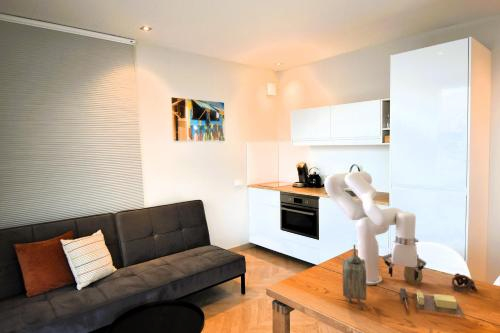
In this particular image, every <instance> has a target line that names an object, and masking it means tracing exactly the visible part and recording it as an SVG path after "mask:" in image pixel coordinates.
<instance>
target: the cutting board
mask: <svg viewBox="0 0 500 333" xmlns="http://www.w3.org/2000/svg"><path fill="white" fill-rule="evenodd" d="M411 294H412V296H413V300H414V303H415V306H416V309H417V311H425V312H431V313H432V312H433V313H441V314H447V315H453V316H462V317H465V314H464V313H463V310H462V309H461V307H460V305H459V303H457V309H451V308H444V307H437V306H436V304H435V302H434V295H429V294H423V296H424V305H422V304H419V303H418V300H417V293H413V292H412V293H411Z"/></svg>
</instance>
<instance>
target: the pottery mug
mask: <svg viewBox="0 0 500 333" xmlns="http://www.w3.org/2000/svg"><path fill="white" fill-rule="evenodd" d="M455 282H456V283H455ZM451 289H452V290H454V291H456V292H461V293H463V292H467V291H470V292H473V290H472V289H474V290H475V291H478V289H477V287H476V284H475V281H474V280H473V279H471V277H469V276H468V275H465V274H460V273H458V272H457V273H455V274H454V276H453V277H452V279H451Z"/></svg>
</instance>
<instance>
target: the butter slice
mask: <svg viewBox="0 0 500 333" xmlns="http://www.w3.org/2000/svg"><path fill="white" fill-rule="evenodd" d="M416 294H417V300H418V303H419V304H422V305H424V296H423V295H424V293H423V292H422V291H416Z"/></svg>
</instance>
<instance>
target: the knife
mask: <svg viewBox="0 0 500 333" xmlns="http://www.w3.org/2000/svg"><path fill="white" fill-rule="evenodd" d="M399 292H400V296H401V300H402V302H405V303H404V304H405V307H406V311H407V313H409V306H408V302H409V298H408V294H407V291H406V288H403V287H400V288H399Z"/></svg>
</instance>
